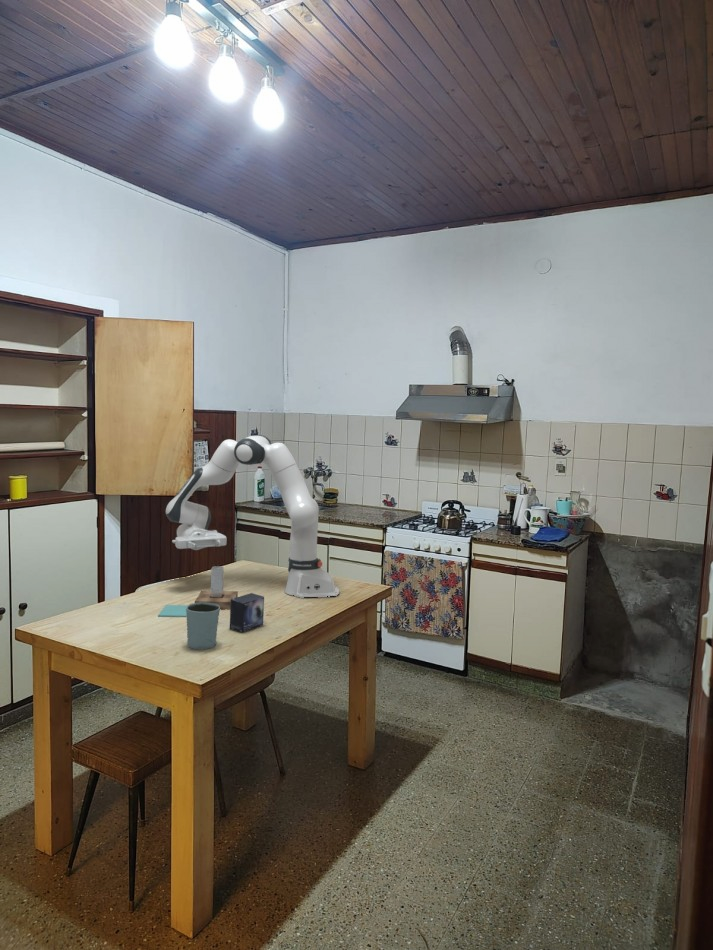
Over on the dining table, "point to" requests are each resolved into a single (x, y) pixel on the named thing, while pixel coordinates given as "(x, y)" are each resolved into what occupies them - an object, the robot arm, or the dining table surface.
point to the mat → (173, 611)
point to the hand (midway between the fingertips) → (207, 545)
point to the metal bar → (217, 582)
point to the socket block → (222, 602)
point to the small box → (246, 612)
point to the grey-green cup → (202, 625)
